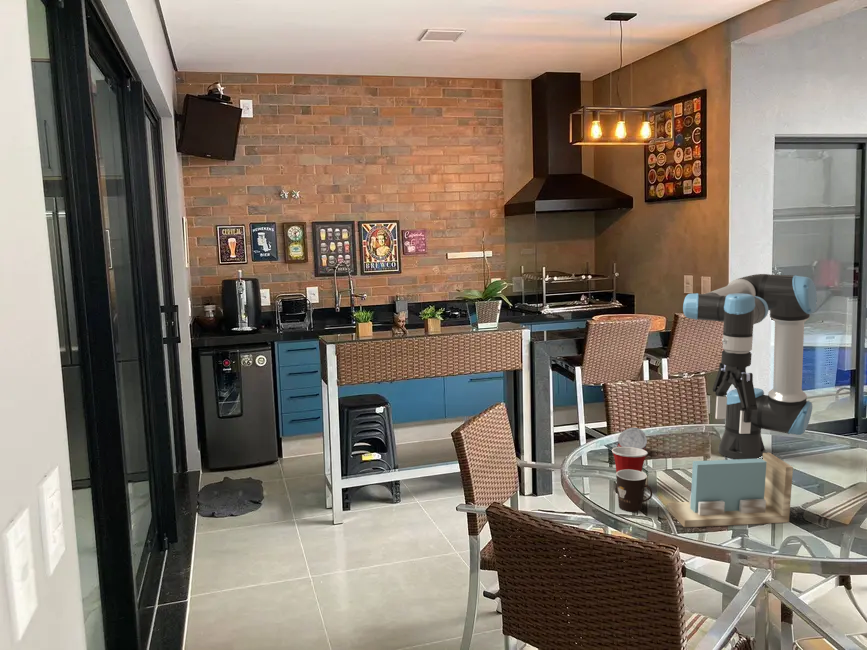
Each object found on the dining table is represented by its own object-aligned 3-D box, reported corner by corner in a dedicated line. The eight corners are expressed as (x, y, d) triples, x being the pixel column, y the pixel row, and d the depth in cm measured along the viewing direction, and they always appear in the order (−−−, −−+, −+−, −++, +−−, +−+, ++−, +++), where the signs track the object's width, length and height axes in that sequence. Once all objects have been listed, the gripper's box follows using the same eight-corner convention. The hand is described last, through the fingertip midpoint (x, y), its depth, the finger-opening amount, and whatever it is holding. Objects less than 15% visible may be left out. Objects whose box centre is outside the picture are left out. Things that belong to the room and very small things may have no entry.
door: (757, 505, 212) (760, 458, 210) (763, 509, 209) (766, 462, 207) (690, 508, 210) (692, 461, 208) (695, 512, 207) (697, 464, 205)
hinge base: (765, 504, 217) (769, 452, 214) (788, 522, 205) (793, 467, 203) (666, 509, 214) (669, 456, 212) (684, 527, 203) (687, 471, 200)
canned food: (645, 465, 263) (658, 444, 258) (626, 468, 257) (639, 447, 253) (624, 443, 271) (637, 423, 266) (605, 445, 265) (618, 425, 260)
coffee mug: (611, 502, 220) (612, 470, 218) (639, 501, 220) (640, 468, 219) (624, 518, 208) (625, 484, 207) (654, 517, 209) (655, 483, 207)
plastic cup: (647, 482, 235) (648, 446, 233) (645, 495, 225) (646, 457, 223) (612, 478, 238) (613, 442, 236) (608, 490, 228) (609, 453, 226)
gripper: (702, 342, 214) (699, 413, 217) (746, 360, 189) (741, 440, 193) (727, 341, 214) (723, 412, 218) (774, 360, 190) (769, 439, 194)
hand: (732, 425), depth 205 cm, fingers open, 13 cm apart
